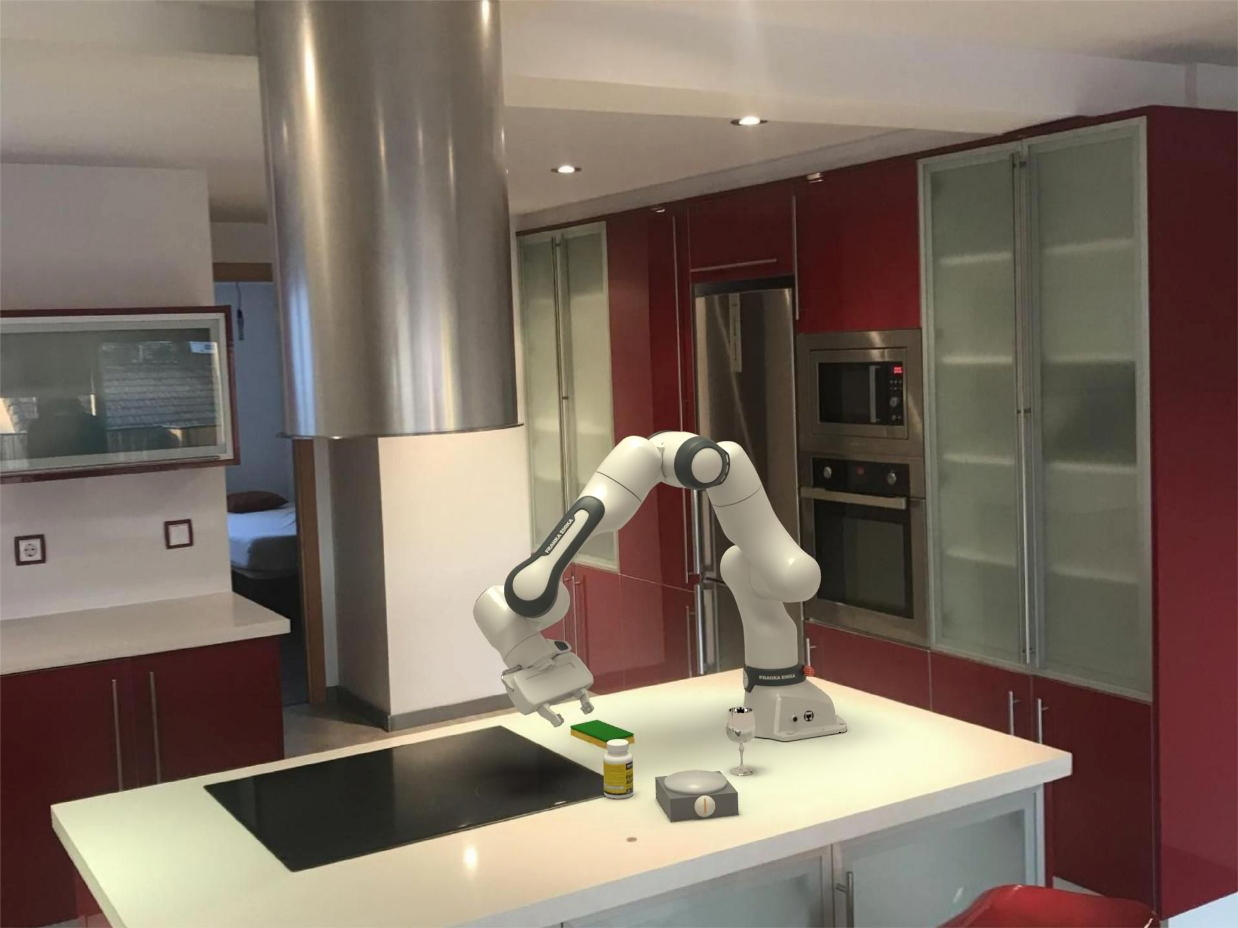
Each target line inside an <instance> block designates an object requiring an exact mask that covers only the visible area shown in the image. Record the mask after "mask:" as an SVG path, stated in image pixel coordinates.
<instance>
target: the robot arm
mask: <svg viewBox="0 0 1238 928" xmlns="http://www.w3.org/2000/svg"><path fill="white" fill-rule="evenodd" d="M660 482H661V483H664V484H666V485H669V486H671V487H676V488H681V489H683V488H685V489H689V490H691V491H701V490H702V491H703V490H705V491H706V492H707V496H708V498H709V500H710V501H709V502H710V503H711V506H712V507H713V510H714V513H715V515H716V518H717V520H718V522H719V524H720V527H721V530H722V531H723V533H724V535H725V536H726V538H727V539H728V540H729V541H730V542H731V543H732V544H734V545H732V546H731V547H729V548H727V550H726V551H725V552H724V554H723V555H722V557H721V560H720V565H719V567H720V568H719V570H720V576H721V578H722V580H723V582H724V583H725V584H726V586H727V587H728V588H729V590H730V591H731V593H732V595H733V597H734V599H735V602H736V605H737V608H738V611H739V614H740V618H741V622H742V627H743V640H744V662H743V664H742V666H743V667H742V669H743V670H742V684H743V685H742V687H743V689H744V690H743V691H744V699H743V706H742V707H748V708H751V709H753V712H754V716H755V721H756V734H755V736H754V737H757V738H766V739H772V740H776V741H781V742H789V741H790V742H791V741H796V740H802V739H809V738H814V737H815V738H816V737H820V736H827V735H828V736H829V735H833V734H840V733H839V732H841V733H845V732H846V731H847V730H848V726H847V723H846V721H845V719H844V718H843V717H841V716H839V715H837V713H836V709H835V705H834V703H833V700H832V698H831V697H830V696H829V695H828V694H827V693H826V692H825V691H823V689H821V688H820V687H818V686H817V685H816V684H815V683H813V682H811V681H810V680H809V679H807V678H811V677H813V676H814V675H815V669H814V668H813V667H812V666H810V665H806V664H804V663H802V662H801V661H799V657H798V655H799V654H798V653H799V652H798V627H797V625H796V623H795V621H794V620H793V618H791V616H790V615H789V613H788V612H787V610H786V608H785V606H784V603H787V604H788V603H798V602H805V601H808V600H810V599H812V598H813V597H814V596H815V595H816V594H817V592H818V590H819V588H820V584H821V579H822V576H821V569H820V568H821V567H820V565H819V564H818V562H817V561H816V559H814V557H812V556H811V555H809V554H808V553H807V552H805V551H804V550H803V549H802V548H801V547H800V546H799V545H798V543H797V542H796V540H794V539H793V538H792V536H791V534H789V532H788V531H787V530H786V528H785V527H784V525H783V524H782V523H781V521H780V519H779V518H778V517H777V515H776V513H775V511H774V509H773V507H772V505H771V502H770V500H769V497H768V496H767V493H766V491H765V488H764V485H763V483H762V481H761V479H760V476H759V474H758V473H757V470H756V468H755V466H754V465H753V463H752V461H751V459H750V458H749V455H747V453H746V451H745V450H744V449H743V448H742V446H741V445H740V444H738V443H737V442H734V441H729V440H728V441H727V440H726V441H724V440H723V441H719V442H715V441H714V440H713V439H711V438H709V437H706V436H703V435H702V436H701V435H698V434H695V433H692V432H688V431H675V430H674V431H673V430H670V429H669V430H659V431H657V432H654V433H652V434H651V435H649V436H648V437H646V438H645V437H643V436H639V435H630V436H627V437H625V438H623V439H622V440H621V441H620V442H619V443H618V444H617V445H616V446H614V448H613V449H612V450H611V451H610V452H609V454H608V455H606V457H605V458H604V460H602V462H601V463H600V465H599V466H598V467H597V469H596V470H595V472H594V473H593V474H592V476H591V477H590V479H589V480H588V482H587V484H586V485H585V487H584V488H583V490H582V492H581V493H580V495H579V496H578V497H577V499H576V500H575V502H574V503H572V506H571V507H570V508H569V510H567V512H566V513H565V514H564V515H563V517H561V518H560V521H559V522H558V523H557V524H556V525H555V527H554V529H553V530H551V532H550V533H549V534H548V536H547V537H546V538H545V540H544V541H543V542H542V544H541V545H540V546H539V547H538V549H537V550H536V551H535V552H534V553H533V554H532V555H531V556H529V557H528V558H527V559H525V560H523V561H522V562H520V563H519V564H518V565H516V566H514V568H512V570H511V571H510V572H509V573H508V575H507V577H506V579H505V582H504V584H501V585H498V584H493V585H492V586H489V587H488V588H486V589H485V590H484V591H482V593H481V594H480V595H479V596H478V598H477V599H476V601H475V602H474V605H473V610H472V614H473V619H474V621H475V623H476V624H477V627H478V628H479V630H480V632H481V633H482V634H483V637H485V639H486V640H487V642H488V643H489V644H490V646H491V647H492V648H493V649H495V650H496V651H497V652H498V654H499V655H500V657H501V659H502V662H503V663H504V665H505V666H506V667H507V668H506V669H504V670H503V671H502V672H501V676H500V680H501V683H502V684H503V686H504V687H505V691H506V693H507V695H508V697H509V699H510V701H511V702H512V704H513V705H514V707H515V709H516V710H517V711H518V713H520V714H521V715H524V716H528V715H530V714H531V715H532V714H533V713H536V712H537V714H538V715H539V716H540V717H541V718H543V719H544V720H547V722H550V724H551V725H552V726H553V728H558V727H562V725H563V724H564V723H565V718H564V717H563V716H562V714H560V713H559V712H558V713H556V712H555V711H553V709H551V706H553V705H556V704H558V703H559V704H560V703H561V702H563V701H566V700H569V699H572V698H573V697H575V699H576V700H577V701H579V703H580V705H581V706H580V708H579V709H580V711H581V712H582V713H583V714H584V715H588V714H592V712H593V711H594V710H595V706H594V705H593V704H592V702H591V700H590V696H589V692H588V690H589V688H590V687H592V685H593V684H594V676H593V674H592V673H591V670H589V668H588V667H587V665H586V664H585V663H584V662H583V661H582V659H581V658H580V657H579V655H578V654H576V653H575V652H572V651H571V650H572V646H571V645H570V643H569V642H568V641H566V640H557V639H550V638H545V637H544V636H543V634H541V632H543V631H544V630H548V629H549V628H551V627H552V626H554V625H556V624H557V623H559V622H560V621H562V620H563V619H564V618H565V617H566V615H567V614H568V612H569V611H570V607H571V594H570V591H569V589H568V588H567V586H566V585H565V584H564V583H563V582H562V577H563V575H564V573H565V571H566V570H567V568H568V567H570V564H571V563H572V562H573V560H574V559H575V558H576V556H577V555H578V554H579V552H580V551H581V550H582V549H583V547H584V546H585V545H586V544H587V542H589V540H590V539H592V538H593V537H595V536H597V535H599V534H602V533H603V534H604V533H611V532H612V533H613V532H616V531H619V530H621V529H622V528H623V527H624V526H625V525H626V524H627V523H628V522H629V521H630V520H631V519H632V518H633V517H634V516H635V514H636V513H637V511H638V510H639V508H640V507H641V506H642V504H643V502H644V501H645V499H646V498H647V496H648V494H649V493H650V491H651V490H653V488H654V487H656V485H658V484H659V483H660Z"/></svg>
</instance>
